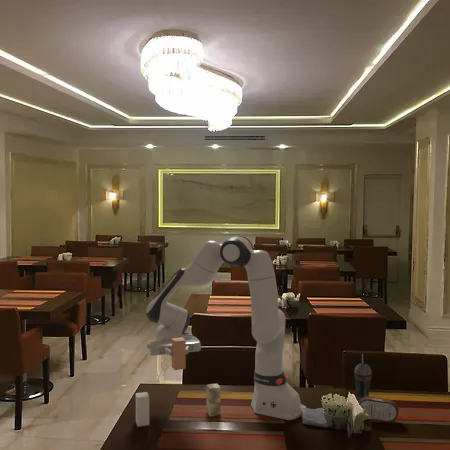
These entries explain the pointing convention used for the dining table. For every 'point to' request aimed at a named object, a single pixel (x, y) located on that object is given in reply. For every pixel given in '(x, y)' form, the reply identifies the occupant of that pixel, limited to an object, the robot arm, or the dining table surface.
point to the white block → (142, 409)
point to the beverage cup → (362, 379)
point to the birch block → (213, 399)
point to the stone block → (314, 417)
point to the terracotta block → (178, 353)
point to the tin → (380, 408)
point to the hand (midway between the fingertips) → (179, 352)
